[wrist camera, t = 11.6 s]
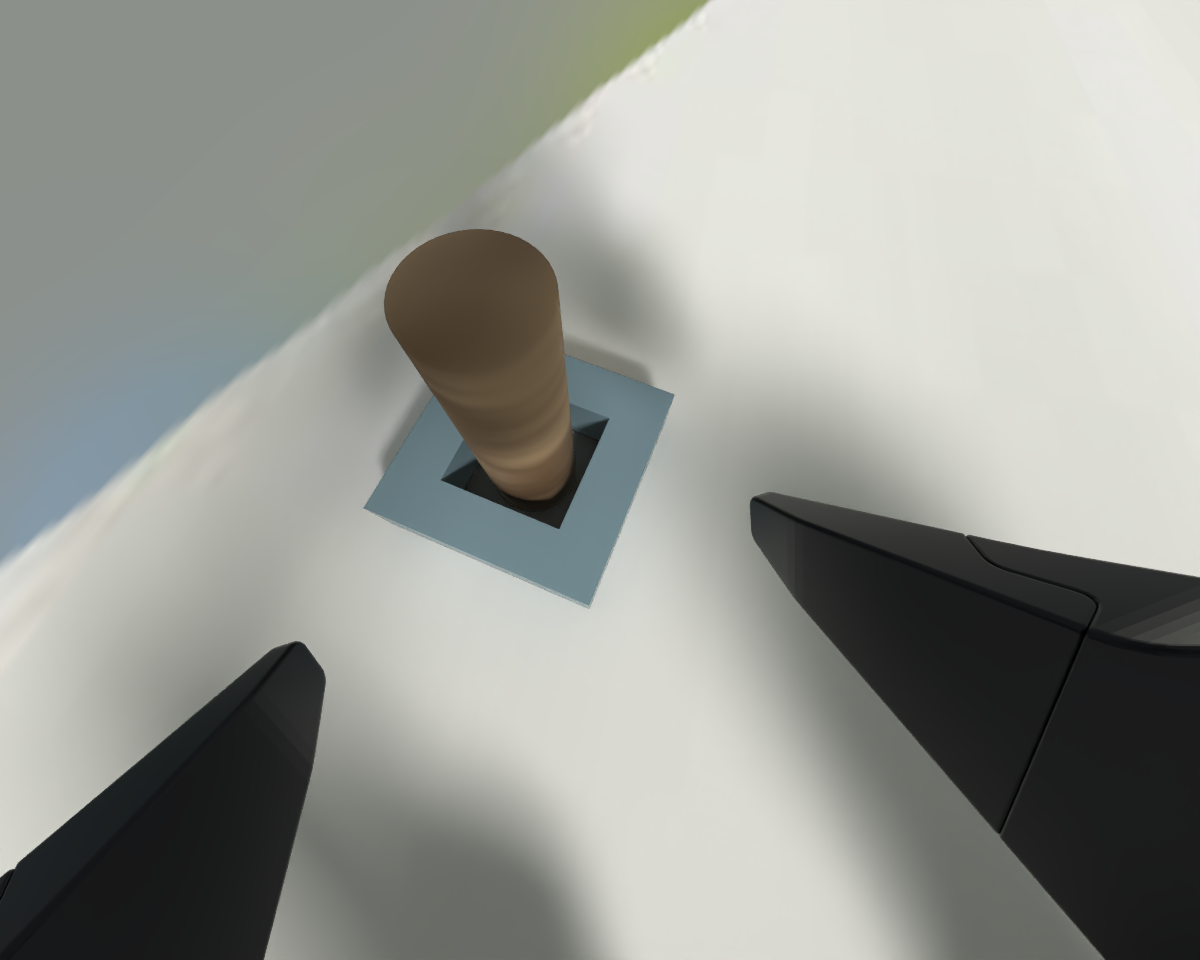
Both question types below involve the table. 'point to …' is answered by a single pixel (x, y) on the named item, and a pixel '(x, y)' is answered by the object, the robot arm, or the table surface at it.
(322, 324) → the table surface
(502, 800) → the table surface
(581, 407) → the socket block
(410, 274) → the walnut peg
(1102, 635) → the robot arm
